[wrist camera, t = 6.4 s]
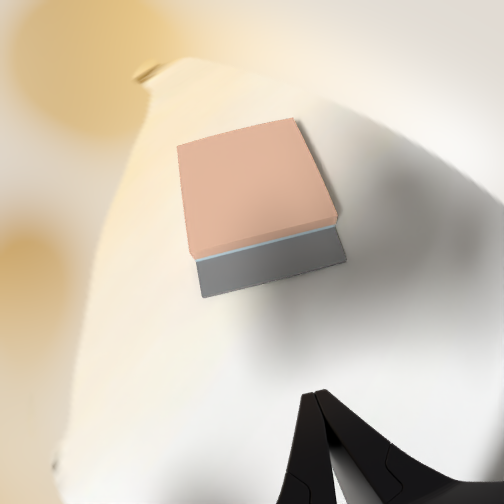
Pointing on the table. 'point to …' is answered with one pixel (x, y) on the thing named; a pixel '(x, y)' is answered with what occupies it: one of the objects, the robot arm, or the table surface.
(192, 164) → the tile
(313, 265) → the mat
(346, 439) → the robot arm
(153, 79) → the table surface
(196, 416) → the table surface
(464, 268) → the table surface
